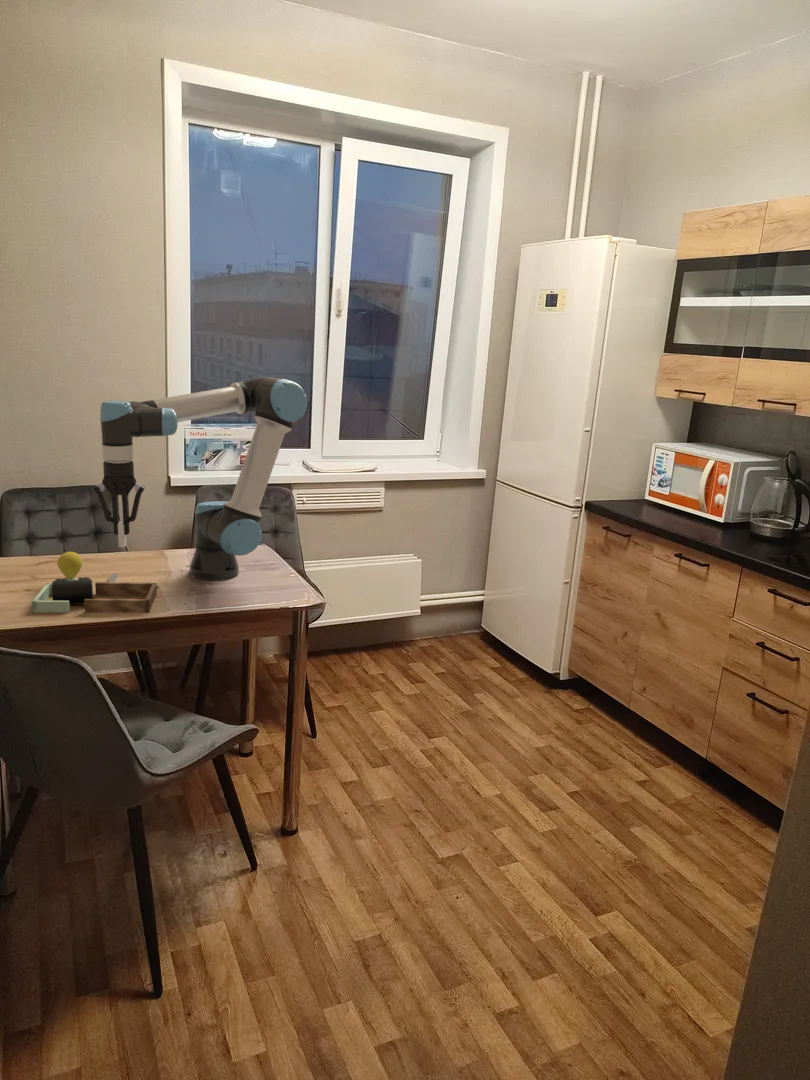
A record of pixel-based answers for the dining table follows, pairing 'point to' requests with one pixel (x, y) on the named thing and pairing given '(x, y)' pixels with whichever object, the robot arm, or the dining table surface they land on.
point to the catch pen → (48, 602)
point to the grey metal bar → (113, 578)
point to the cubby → (122, 604)
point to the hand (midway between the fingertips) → (122, 545)
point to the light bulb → (70, 565)
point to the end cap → (72, 590)
